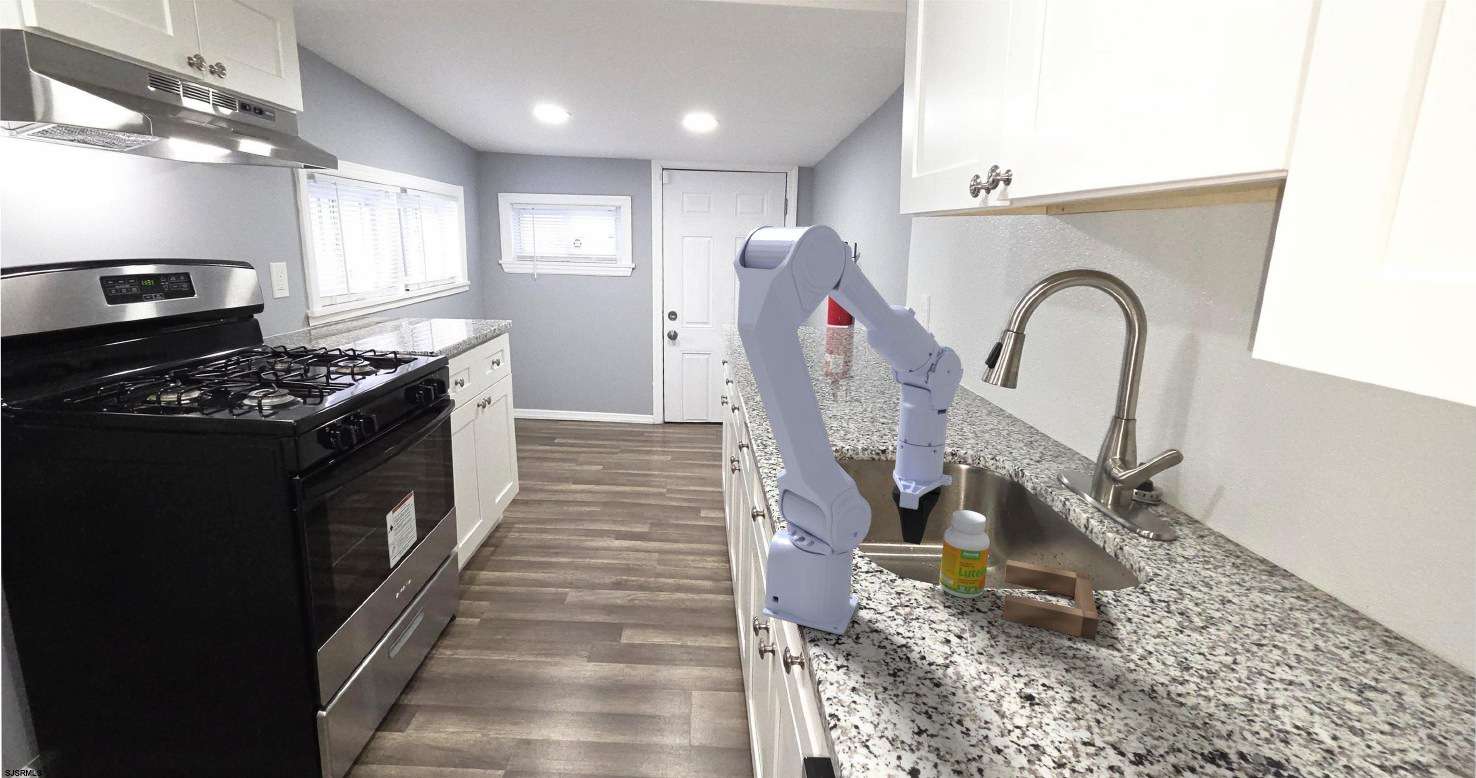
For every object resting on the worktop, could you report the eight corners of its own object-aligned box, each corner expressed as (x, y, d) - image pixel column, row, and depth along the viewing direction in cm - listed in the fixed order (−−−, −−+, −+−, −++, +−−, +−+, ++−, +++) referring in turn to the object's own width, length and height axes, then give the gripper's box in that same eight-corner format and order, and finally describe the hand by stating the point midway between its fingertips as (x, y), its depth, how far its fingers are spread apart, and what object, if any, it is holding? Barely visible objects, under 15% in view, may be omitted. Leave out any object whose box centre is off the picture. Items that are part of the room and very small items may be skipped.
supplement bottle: (955, 601, 79) (963, 527, 77) (930, 580, 84) (937, 509, 82) (993, 596, 81) (1002, 522, 78) (966, 575, 86) (974, 505, 84)
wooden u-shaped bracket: (1002, 619, 75) (1005, 599, 75) (1004, 576, 85) (1006, 559, 85) (1095, 639, 72) (1098, 619, 71) (1086, 593, 82) (1088, 574, 81)
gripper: (949, 461, 73) (938, 572, 76) (959, 429, 86) (950, 525, 89) (885, 452, 75) (877, 560, 78) (905, 422, 88) (897, 516, 91)
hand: (912, 541), depth 84 cm, fingers closed
